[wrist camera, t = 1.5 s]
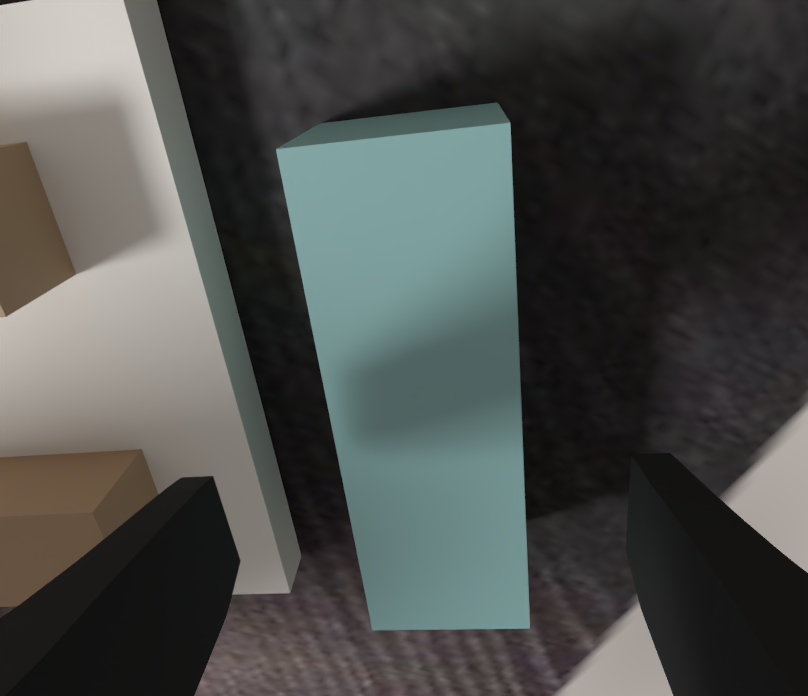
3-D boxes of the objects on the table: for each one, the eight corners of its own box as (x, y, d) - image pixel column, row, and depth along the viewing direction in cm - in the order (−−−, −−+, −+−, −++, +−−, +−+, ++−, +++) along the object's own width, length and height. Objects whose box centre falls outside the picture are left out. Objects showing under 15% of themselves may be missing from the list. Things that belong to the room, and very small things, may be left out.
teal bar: (516, 517, 19) (530, 628, 15) (388, 521, 19) (372, 630, 16) (496, 101, 14) (510, 122, 10) (322, 122, 14) (275, 149, 11)
